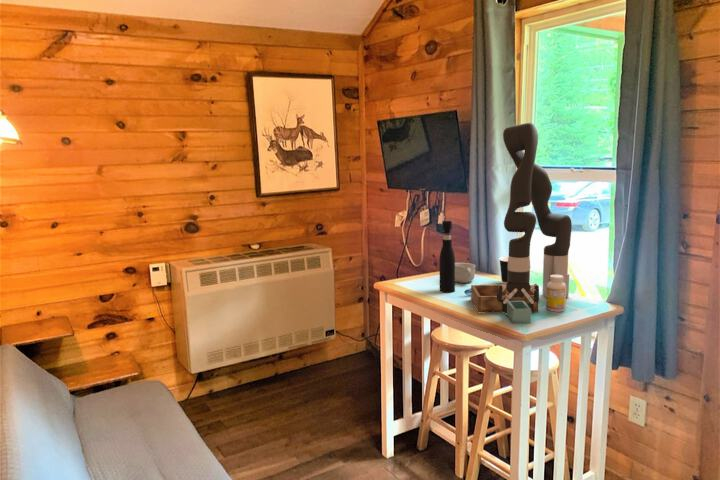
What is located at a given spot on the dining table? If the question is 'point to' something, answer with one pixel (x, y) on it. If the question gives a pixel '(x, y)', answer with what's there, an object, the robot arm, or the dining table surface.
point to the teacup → (464, 272)
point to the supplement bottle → (556, 294)
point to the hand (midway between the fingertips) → (517, 313)
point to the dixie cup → (504, 269)
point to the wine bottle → (447, 261)
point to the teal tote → (519, 312)
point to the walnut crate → (494, 298)
